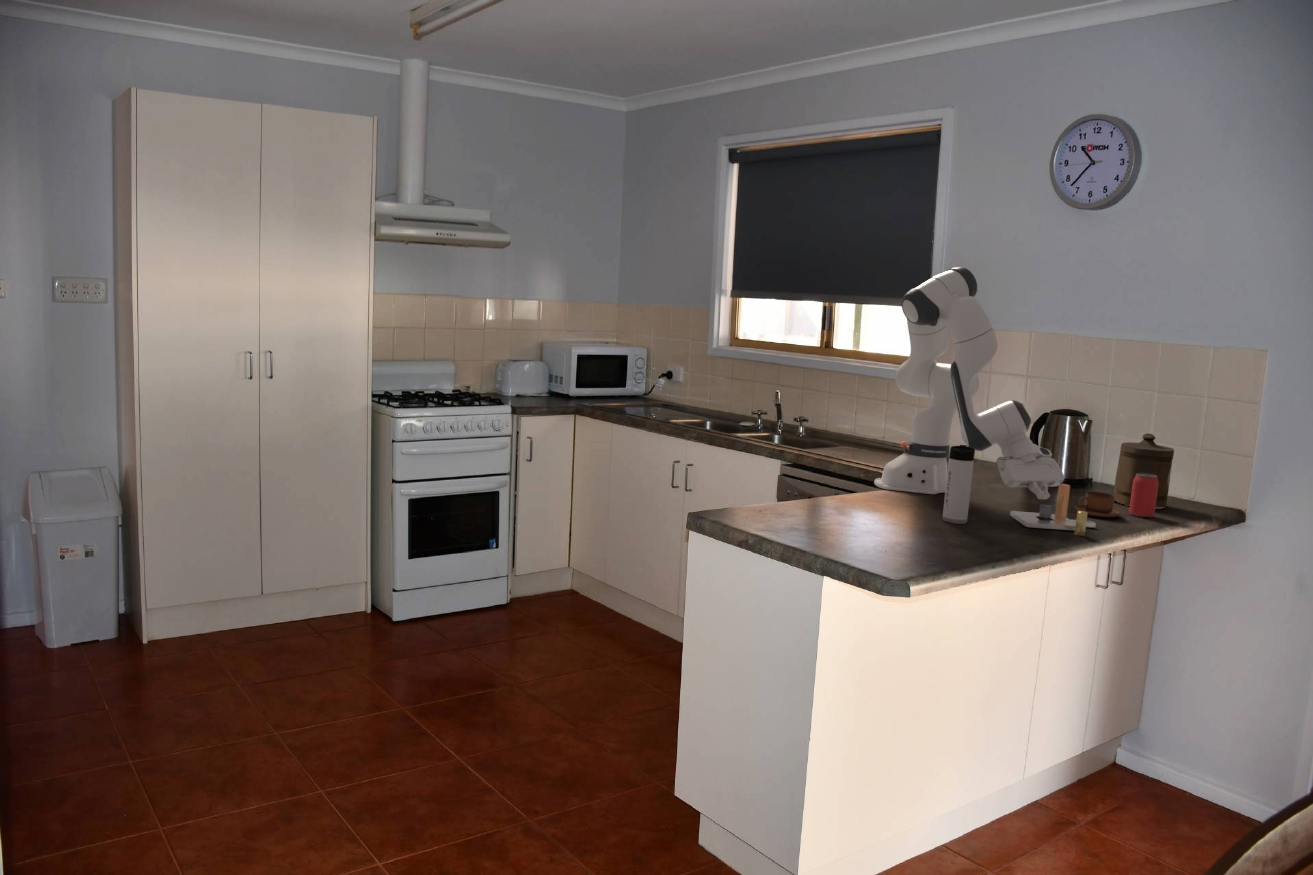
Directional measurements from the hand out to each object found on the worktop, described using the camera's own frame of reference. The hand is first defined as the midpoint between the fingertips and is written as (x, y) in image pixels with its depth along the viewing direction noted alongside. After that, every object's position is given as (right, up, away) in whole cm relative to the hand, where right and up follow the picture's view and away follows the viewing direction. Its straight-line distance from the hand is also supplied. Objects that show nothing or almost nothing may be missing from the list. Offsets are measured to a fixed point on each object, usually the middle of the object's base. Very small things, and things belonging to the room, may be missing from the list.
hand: (1044, 498), depth 270 cm
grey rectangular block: (-3, -7, -6) cm, 9 cm away
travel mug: (-28, -6, -10) cm, 30 cm away
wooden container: (+41, -4, +32) cm, 52 cm away
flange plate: (0, -6, -6) cm, 9 cm away
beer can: (+33, -6, +14) cm, 37 cm away
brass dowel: (+2, -8, -17) cm, 19 cm away
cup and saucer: (+19, -6, +11) cm, 23 cm away
